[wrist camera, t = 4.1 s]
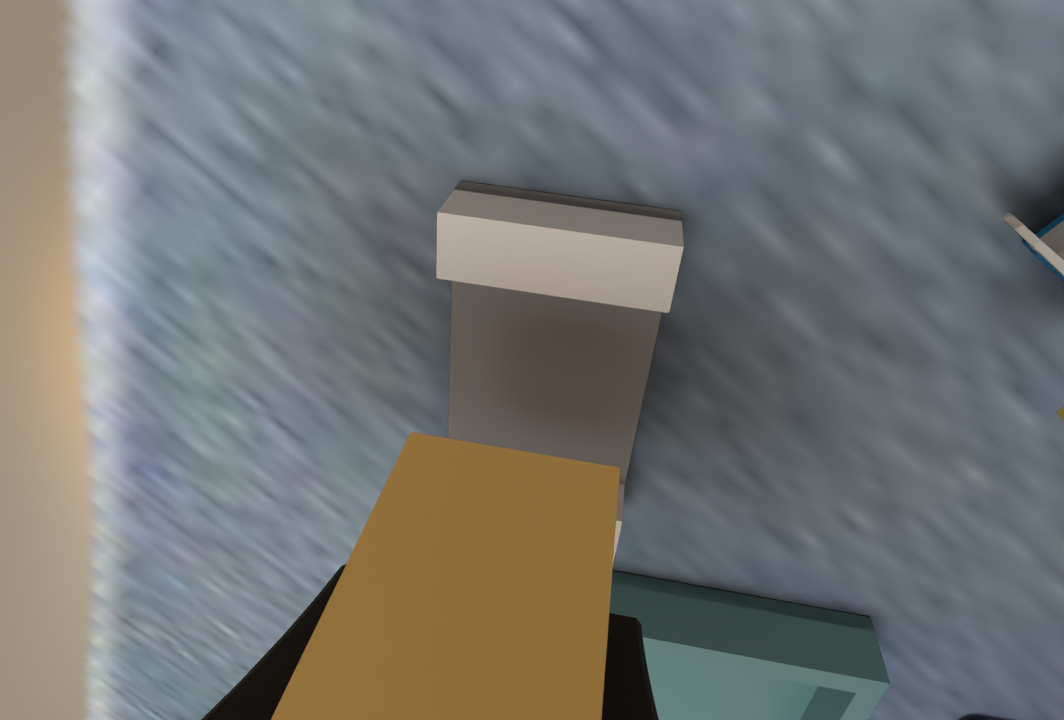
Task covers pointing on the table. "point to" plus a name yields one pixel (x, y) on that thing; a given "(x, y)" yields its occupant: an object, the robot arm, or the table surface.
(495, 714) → the orange and white block
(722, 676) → the parts tray
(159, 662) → the table surface
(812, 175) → the table surface
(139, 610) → the table surface
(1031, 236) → the electric motor
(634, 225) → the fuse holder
